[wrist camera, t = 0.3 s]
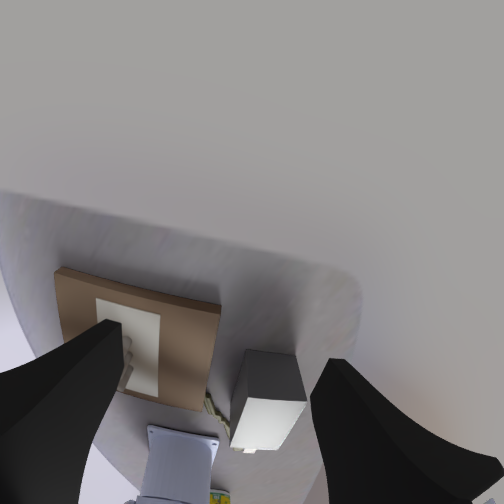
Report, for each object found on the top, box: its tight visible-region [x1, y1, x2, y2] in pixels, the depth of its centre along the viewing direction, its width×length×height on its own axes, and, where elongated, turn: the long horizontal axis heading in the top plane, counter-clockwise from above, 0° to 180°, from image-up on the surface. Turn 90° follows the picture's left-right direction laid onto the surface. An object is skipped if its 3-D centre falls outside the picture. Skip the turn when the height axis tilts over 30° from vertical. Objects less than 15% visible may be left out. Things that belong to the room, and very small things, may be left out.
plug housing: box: [229, 349, 307, 453], centre depth 19 cm, size 9×4×5 cm, turn 167°
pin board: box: [54, 267, 222, 412], centre depth 18 cm, size 11×13×4 cm
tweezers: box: [204, 392, 243, 451], centre depth 23 cm, size 12×2×1 cm, turn 16°
